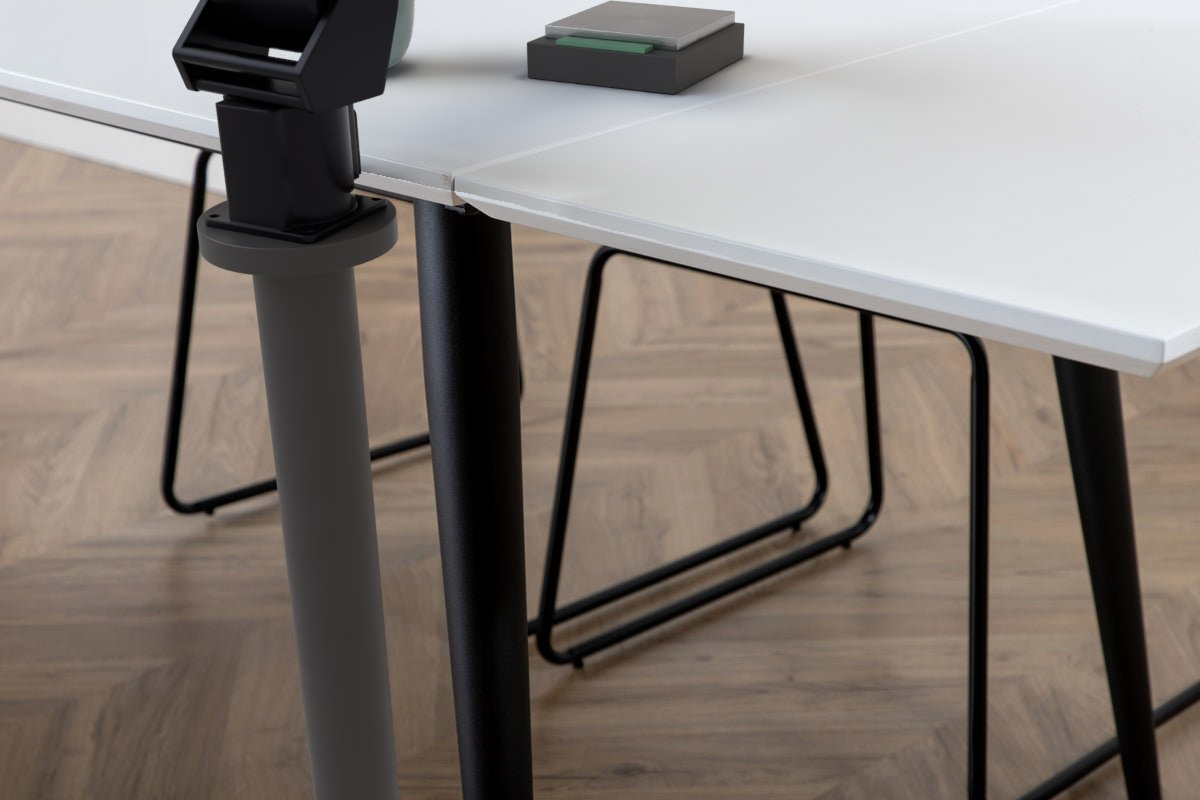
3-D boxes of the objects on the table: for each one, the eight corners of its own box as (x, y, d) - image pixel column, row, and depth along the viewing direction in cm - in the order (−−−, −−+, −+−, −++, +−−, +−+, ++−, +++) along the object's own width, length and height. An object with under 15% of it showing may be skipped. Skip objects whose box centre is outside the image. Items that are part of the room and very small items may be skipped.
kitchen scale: (674, 94, 86) (675, 43, 85) (527, 77, 90) (525, 29, 89) (743, 57, 95) (745, 10, 94) (606, 43, 99) (606, -2, 98)
